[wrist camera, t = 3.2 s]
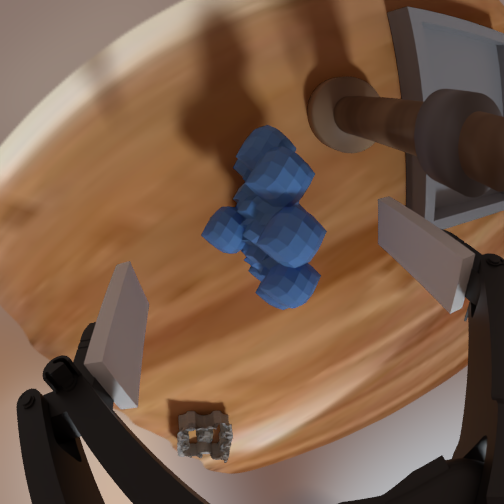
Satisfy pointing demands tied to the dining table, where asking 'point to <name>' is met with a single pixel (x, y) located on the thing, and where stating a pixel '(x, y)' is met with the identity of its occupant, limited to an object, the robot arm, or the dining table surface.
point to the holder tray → (446, 77)
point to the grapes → (271, 219)
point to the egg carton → (204, 435)
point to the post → (416, 130)
